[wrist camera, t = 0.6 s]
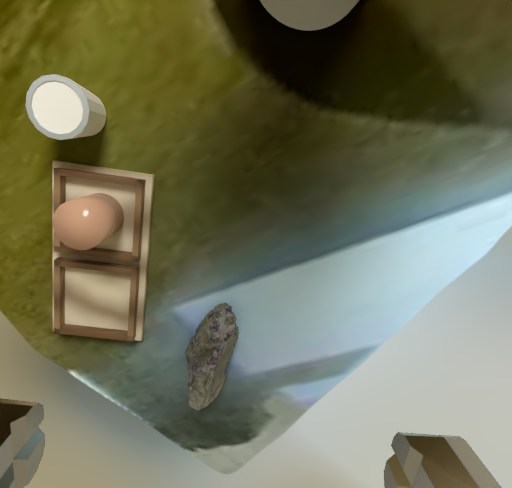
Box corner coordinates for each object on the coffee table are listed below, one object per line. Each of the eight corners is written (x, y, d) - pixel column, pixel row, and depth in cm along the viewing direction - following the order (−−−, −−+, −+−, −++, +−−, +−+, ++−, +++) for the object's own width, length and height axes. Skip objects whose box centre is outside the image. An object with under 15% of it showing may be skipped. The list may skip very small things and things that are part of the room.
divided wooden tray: (56, 160, 47) (46, 161, 44) (154, 174, 48) (149, 176, 45) (56, 328, 53) (47, 336, 51) (143, 337, 54) (138, 346, 52)
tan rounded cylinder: (79, 189, 47) (52, 196, 40) (124, 196, 47) (105, 203, 41) (78, 233, 49) (52, 246, 42) (122, 238, 49) (104, 253, 42)
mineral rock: (226, 293, 53) (223, 325, 43) (271, 341, 55) (277, 381, 46) (164, 343, 55) (147, 385, 45) (210, 387, 57) (204, 436, 47)
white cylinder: (72, 148, 47) (43, 148, 40) (47, 95, 45) (13, 86, 38) (120, 131, 46) (99, 128, 40) (97, 77, 44) (71, 64, 38)
